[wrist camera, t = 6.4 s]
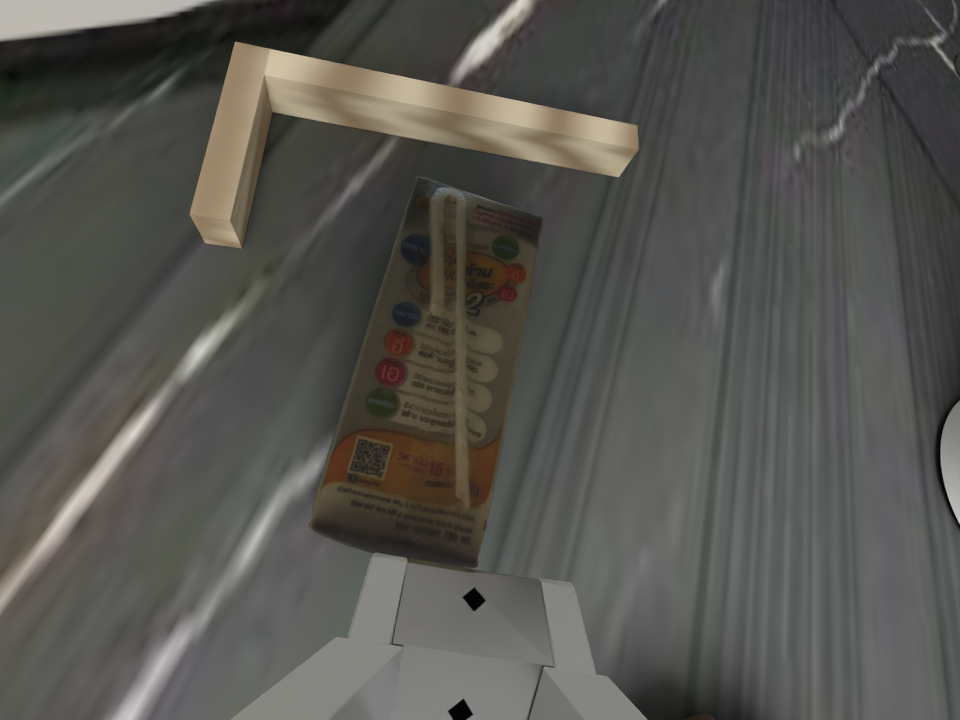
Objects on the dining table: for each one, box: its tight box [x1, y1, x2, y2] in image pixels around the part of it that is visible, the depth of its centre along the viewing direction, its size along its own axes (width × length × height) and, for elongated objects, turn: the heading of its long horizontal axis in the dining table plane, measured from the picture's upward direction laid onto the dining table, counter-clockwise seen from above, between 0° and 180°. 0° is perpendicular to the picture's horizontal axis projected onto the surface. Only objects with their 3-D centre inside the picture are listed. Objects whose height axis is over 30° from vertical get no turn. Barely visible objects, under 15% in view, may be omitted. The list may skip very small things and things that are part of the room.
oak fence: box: [190, 42, 639, 248], centre depth 33 cm, size 26×12×3 cm, turn 87°
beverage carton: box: [309, 177, 543, 568], centre depth 28 cm, size 8×19×7 cm, turn 168°
